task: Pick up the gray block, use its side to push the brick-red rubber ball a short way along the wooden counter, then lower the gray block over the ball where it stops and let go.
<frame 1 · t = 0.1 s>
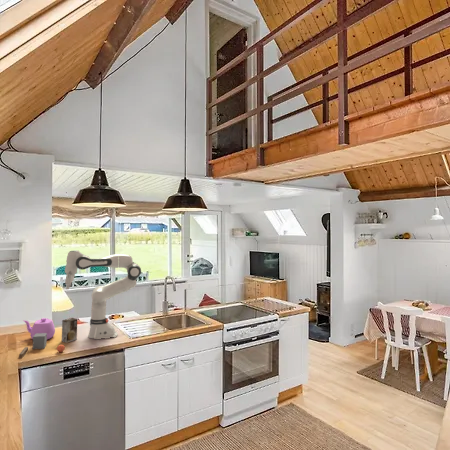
hand: (68, 288, 273), 39 cm above the worktop, tool pointing down, fingers open, 8 cm apart
teapot: (41, 338, 269), on the worktop
gray block: (39, 347, 249), on the worktop
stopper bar: (23, 354, 235), on the worktop
coffee box: (69, 340, 266), on the worktop
ball: (60, 348, 241), on the worktop
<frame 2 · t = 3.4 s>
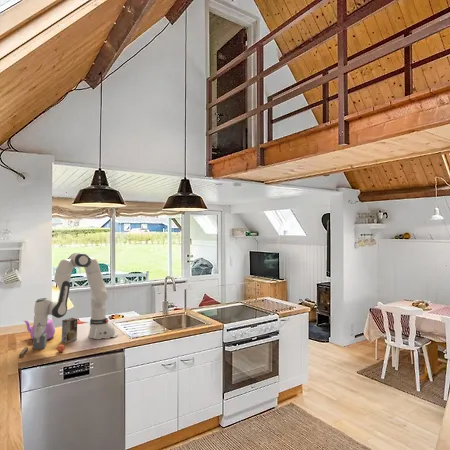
hand: (39, 340, 249), 5 cm above the worktop, tool pointing down, fingers closed on gray block, 7 cm apart
gray block: (39, 347, 249), on the worktop, touching gripper
everything else where it was.
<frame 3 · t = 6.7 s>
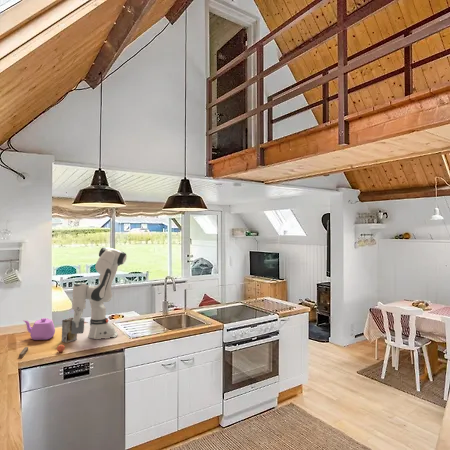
hand: (77, 325, 244), 18 cm above the worktop, tool pointing down, fingers closed on gray block, 7 cm apart
gray block: (77, 332, 244), point 13 cm above the worktop, touching gripper
everything else where it was.
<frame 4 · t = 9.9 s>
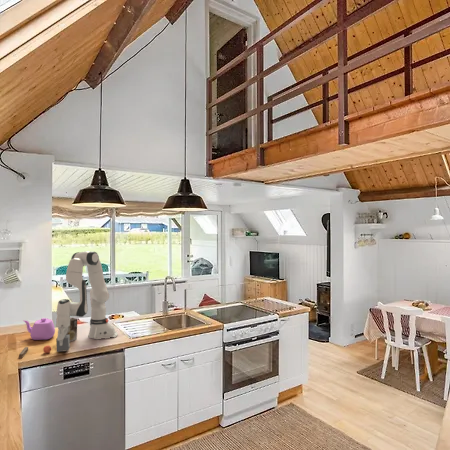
hand: (62, 343, 242), 6 cm above the worktop, tool pointing down, fingers closed on gray block, 7 cm apart
gray block: (63, 349, 242), point 2 cm above the worktop, touching gripper
ball: (47, 349, 239), on the worktop
everything else where it was.
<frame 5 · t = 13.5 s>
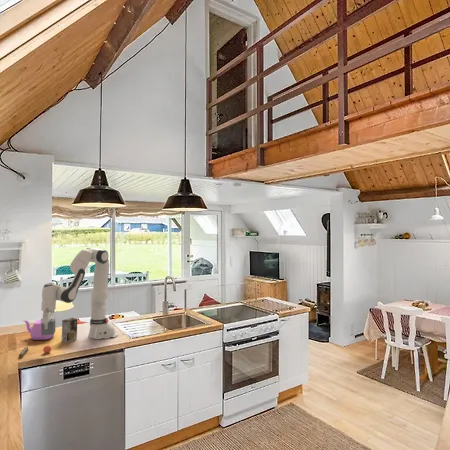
hand: (47, 327, 239), 18 cm above the worktop, tool pointing down, fingers closed on gray block, 7 cm apart
gray block: (48, 333, 239), point 13 cm above the worktop, touching gripper
everything else where it was.
when the fingers open (5 cm above the worktop, at t = 16.4 s): gray block stays where it is, on the worktop.
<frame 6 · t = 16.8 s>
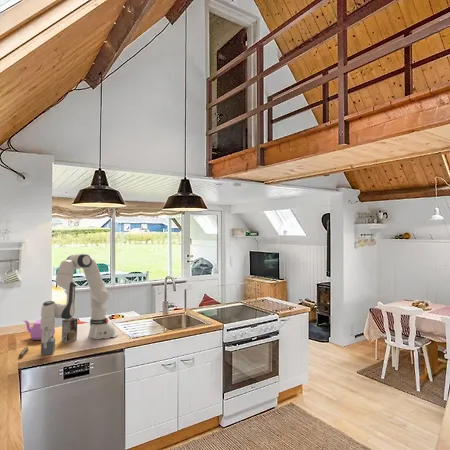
hand: (46, 345, 239), 5 cm above the worktop, tool pointing down, fingers open, 8 cm apart
gray block: (47, 352, 239), on the worktop
everything else where it was.
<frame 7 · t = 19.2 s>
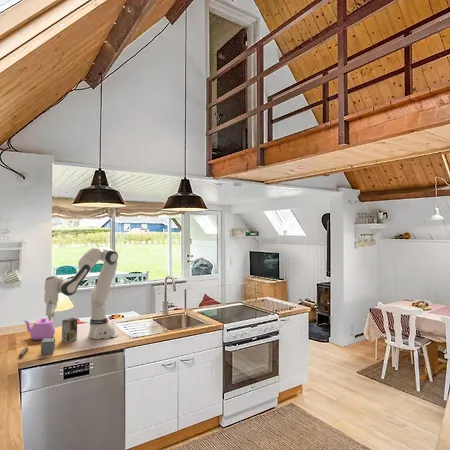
hand: (51, 318, 246), 22 cm above the worktop, tool pointing down, fingers open, 8 cm apart
nothing on the worktop moved.
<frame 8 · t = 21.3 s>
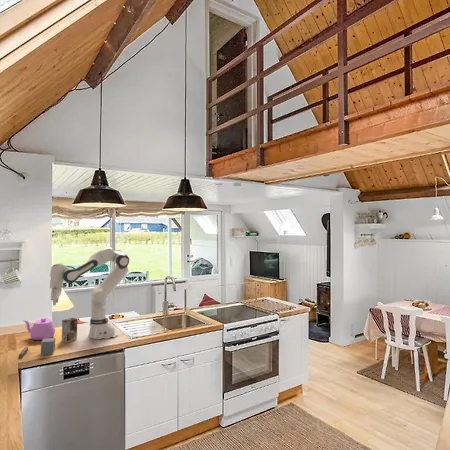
hand: (55, 303, 259), 29 cm above the worktop, tool pointing down, fingers open, 8 cm apart
nothing on the worktop moved.
at the end: ball 0.4 cm from the gray block (horizontally); gray block on the worktop; ball moved 8.6 cm from its start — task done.
